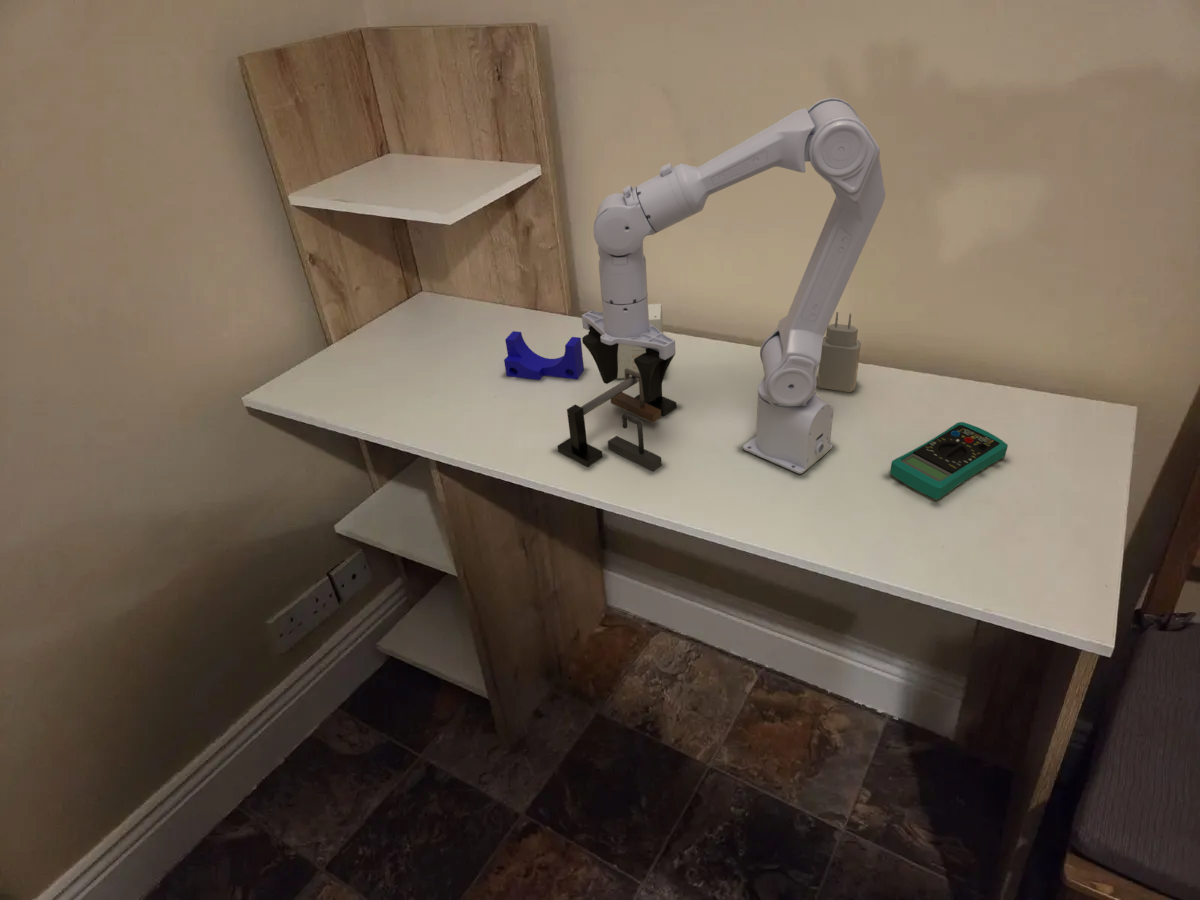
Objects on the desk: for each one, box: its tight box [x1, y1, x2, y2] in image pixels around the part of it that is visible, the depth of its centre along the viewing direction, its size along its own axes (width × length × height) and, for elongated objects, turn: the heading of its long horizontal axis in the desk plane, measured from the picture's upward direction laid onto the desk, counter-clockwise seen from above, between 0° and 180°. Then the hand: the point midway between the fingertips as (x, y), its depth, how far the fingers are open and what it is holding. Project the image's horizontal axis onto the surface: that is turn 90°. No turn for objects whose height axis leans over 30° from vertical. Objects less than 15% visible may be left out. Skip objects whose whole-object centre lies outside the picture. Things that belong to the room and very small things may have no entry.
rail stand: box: [557, 372, 678, 468], centre depth 115 cm, size 6×19×8 cm, turn 136°
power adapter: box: [816, 311, 862, 393], centre depth 119 cm, size 3×5×12 cm, turn 65°
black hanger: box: [607, 412, 663, 472], centre depth 110 cm, size 8×2×7 cm, turn 45°
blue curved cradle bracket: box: [503, 330, 585, 381], centre depth 131 cm, size 12×4×6 cm, turn 70°
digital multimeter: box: [889, 421, 1009, 500], centre depth 103 cm, size 7×15×3 cm, turn 125°
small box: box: [616, 303, 664, 380], centre depth 128 cm, size 8×6×10 cm
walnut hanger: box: [610, 368, 662, 424], centre depth 117 cm, size 8×2×7 cm, turn 45°
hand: (630, 389), depth 107 cm, fingers open, 7 cm apart
